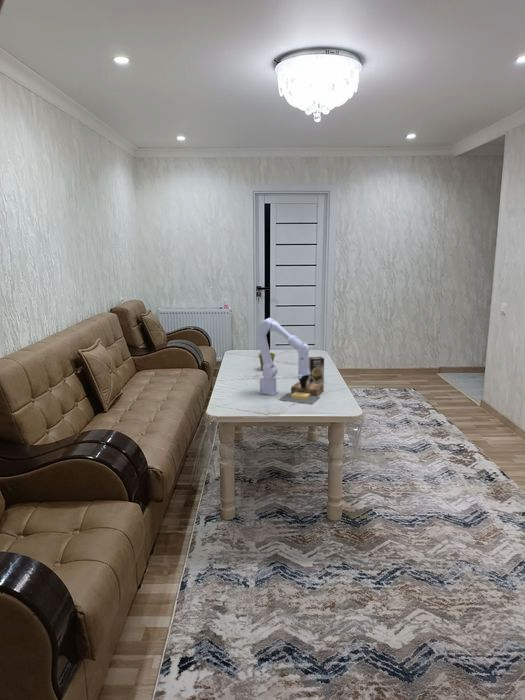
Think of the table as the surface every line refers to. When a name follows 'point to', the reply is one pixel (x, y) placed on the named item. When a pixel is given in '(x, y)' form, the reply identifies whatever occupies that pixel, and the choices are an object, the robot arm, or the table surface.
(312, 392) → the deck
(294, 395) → the tile
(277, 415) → the table surface
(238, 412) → the table surface
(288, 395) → the mat
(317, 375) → the coffee box
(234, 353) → the table surface
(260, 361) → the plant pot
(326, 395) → the table surface
